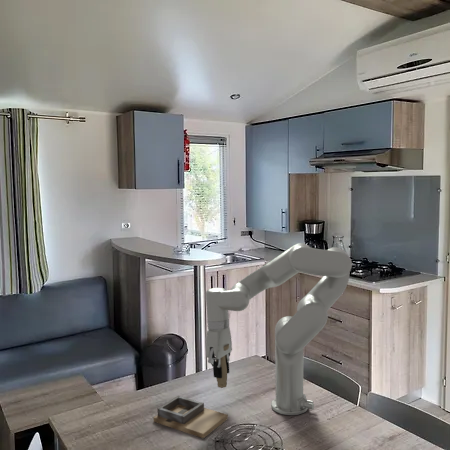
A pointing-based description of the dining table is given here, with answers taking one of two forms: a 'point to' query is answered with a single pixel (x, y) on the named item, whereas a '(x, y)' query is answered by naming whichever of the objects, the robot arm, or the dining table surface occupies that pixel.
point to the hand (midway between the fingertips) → (221, 374)
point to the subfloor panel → (189, 416)
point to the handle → (223, 371)
